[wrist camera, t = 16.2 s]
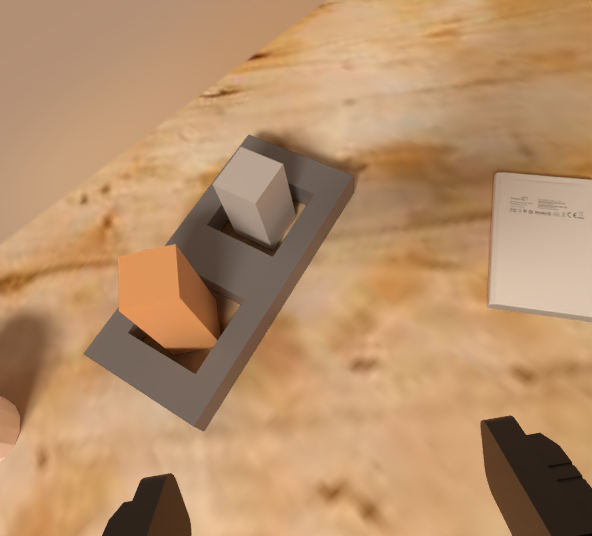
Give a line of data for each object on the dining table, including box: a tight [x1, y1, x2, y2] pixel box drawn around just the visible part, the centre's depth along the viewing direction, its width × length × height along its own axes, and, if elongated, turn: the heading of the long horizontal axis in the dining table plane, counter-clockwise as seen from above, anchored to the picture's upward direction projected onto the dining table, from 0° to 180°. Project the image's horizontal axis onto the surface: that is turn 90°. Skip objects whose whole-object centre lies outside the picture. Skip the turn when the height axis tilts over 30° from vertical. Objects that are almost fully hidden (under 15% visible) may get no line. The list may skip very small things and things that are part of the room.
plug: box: [118, 244, 220, 355], centre depth 37 cm, size 4×4×10 cm
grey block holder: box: [84, 135, 354, 431], centre depth 40 cm, size 24×11×8 cm, turn 149°
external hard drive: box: [487, 172, 592, 322], centre depth 40 cm, size 2×8×12 cm
